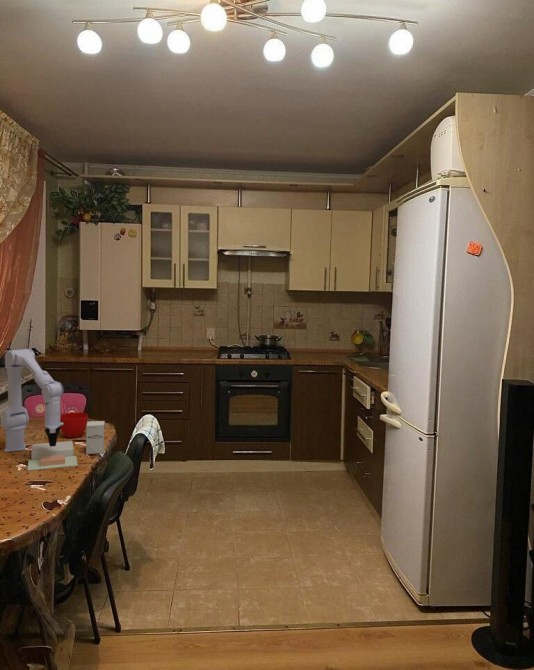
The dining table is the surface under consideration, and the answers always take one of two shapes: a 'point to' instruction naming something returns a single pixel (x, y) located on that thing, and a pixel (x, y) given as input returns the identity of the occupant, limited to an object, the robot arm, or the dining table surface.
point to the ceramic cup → (73, 423)
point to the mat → (36, 465)
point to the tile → (52, 460)
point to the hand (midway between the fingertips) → (52, 445)
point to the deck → (52, 450)
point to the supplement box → (95, 437)
